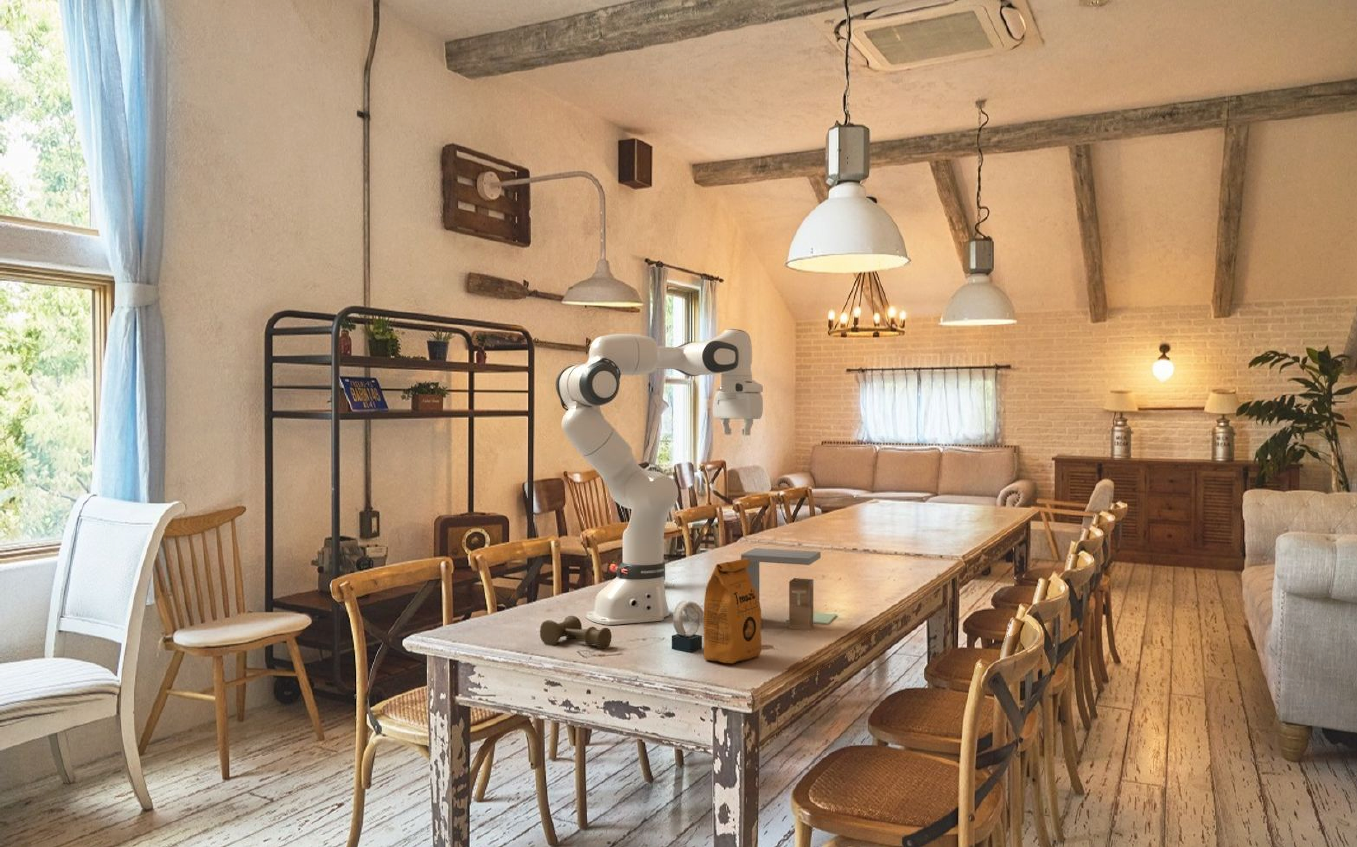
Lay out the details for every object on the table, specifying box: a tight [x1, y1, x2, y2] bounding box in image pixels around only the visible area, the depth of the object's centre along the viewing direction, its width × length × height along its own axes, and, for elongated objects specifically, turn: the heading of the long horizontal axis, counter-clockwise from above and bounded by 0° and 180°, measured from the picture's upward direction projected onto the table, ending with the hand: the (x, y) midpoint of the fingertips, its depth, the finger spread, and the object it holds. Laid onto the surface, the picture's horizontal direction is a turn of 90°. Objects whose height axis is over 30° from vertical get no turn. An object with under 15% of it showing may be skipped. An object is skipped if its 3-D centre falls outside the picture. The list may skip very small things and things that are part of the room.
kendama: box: [539, 615, 613, 650], centre depth 225 cm, size 6×10×20 cm
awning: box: [740, 547, 821, 599], centre depth 242 cm, size 12×18×19 cm
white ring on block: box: [671, 600, 704, 654], centre depth 219 cm, size 6×8×11 cm
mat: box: [785, 611, 838, 625], centre depth 250 cm, size 11×11×1 cm
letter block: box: [788, 577, 814, 631], centre depth 240 cm, size 5×5×12 cm
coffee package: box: [703, 558, 762, 664], centre depth 210 cm, size 10×12×22 cm
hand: (736, 435), depth 270 cm, fingers open, 8 cm apart
